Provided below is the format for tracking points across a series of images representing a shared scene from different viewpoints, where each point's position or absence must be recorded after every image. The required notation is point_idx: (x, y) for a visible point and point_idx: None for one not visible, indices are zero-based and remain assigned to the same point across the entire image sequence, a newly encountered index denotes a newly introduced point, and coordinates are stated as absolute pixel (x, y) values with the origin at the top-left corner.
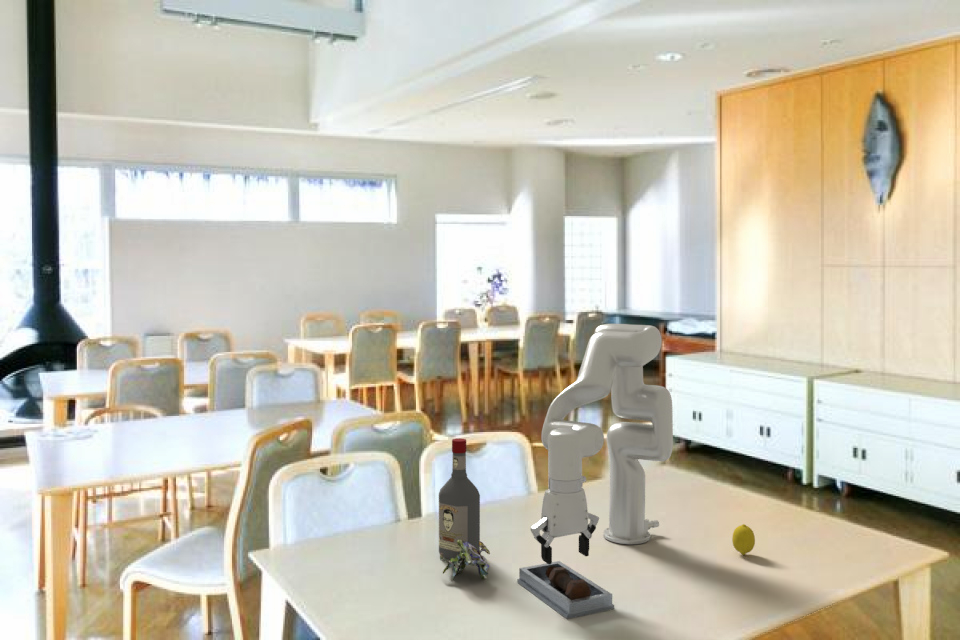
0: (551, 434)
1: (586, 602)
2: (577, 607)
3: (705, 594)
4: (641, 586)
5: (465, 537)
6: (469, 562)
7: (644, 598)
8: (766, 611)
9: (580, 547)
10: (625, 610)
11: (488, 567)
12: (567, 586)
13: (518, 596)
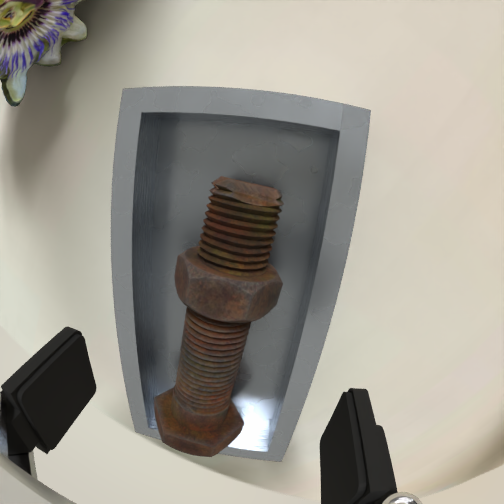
0: None
1: None
2: None
3: (481, 430)
4: (463, 364)
5: None
6: None
7: (400, 418)
8: (456, 479)
9: (342, 434)
10: (304, 442)
11: (44, 50)
12: (175, 391)
13: (85, 217)
